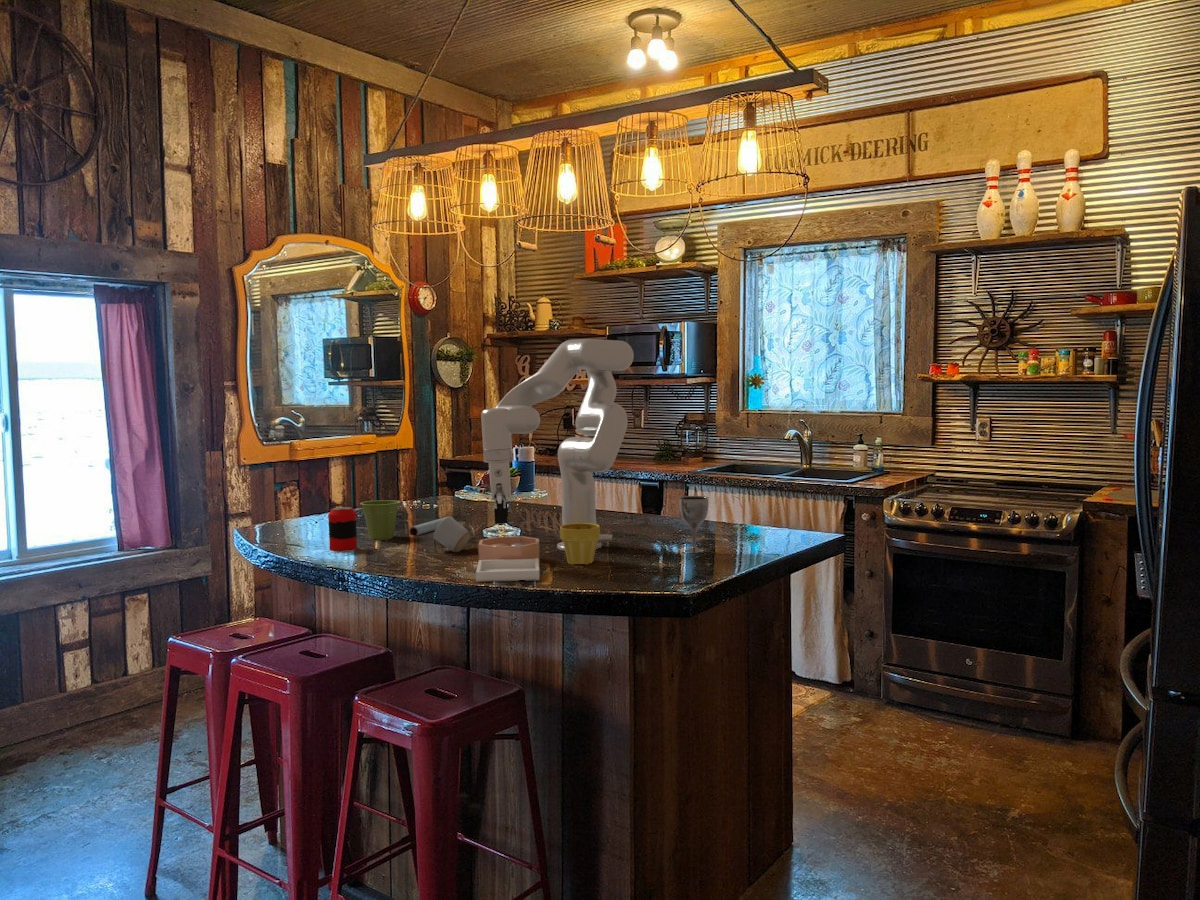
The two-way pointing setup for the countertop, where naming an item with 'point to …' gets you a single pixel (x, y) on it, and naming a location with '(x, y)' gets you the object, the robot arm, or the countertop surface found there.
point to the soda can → (342, 529)
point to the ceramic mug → (451, 534)
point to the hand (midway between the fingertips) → (501, 520)
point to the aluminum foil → (425, 527)
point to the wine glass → (694, 515)
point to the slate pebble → (518, 544)
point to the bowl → (509, 548)
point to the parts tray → (507, 570)
